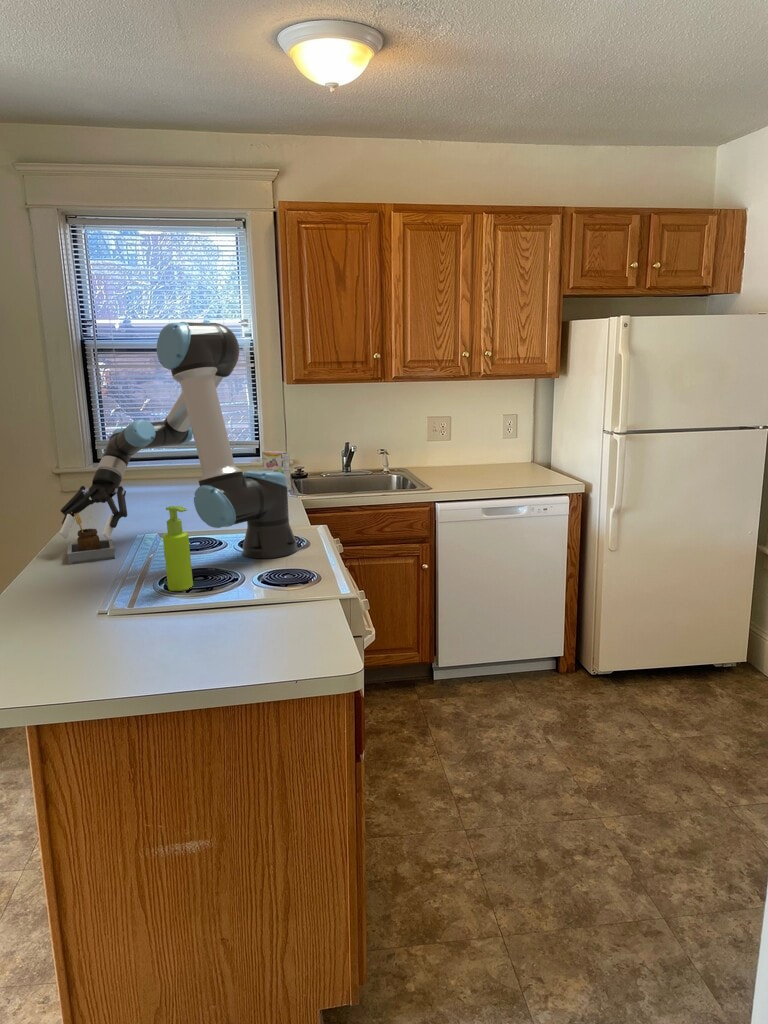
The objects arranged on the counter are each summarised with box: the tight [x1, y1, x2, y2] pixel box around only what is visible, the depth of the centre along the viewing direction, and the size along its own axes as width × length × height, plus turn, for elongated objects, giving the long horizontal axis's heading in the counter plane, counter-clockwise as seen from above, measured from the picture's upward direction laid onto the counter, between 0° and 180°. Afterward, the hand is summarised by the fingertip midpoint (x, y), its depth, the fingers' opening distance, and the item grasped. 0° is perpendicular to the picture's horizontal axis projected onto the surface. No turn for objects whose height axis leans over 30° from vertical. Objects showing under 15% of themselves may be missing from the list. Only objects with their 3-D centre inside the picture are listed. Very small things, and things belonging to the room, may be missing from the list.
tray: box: [66, 538, 116, 565], centre depth 202 cm, size 12×12×3 cm
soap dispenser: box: [162, 505, 194, 592], centre depth 169 cm, size 6×7×20 cm
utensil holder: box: [74, 512, 101, 552], centre depth 201 cm, size 6×6×12 cm
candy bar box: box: [261, 450, 292, 492], centre depth 295 cm, size 11×5×16 cm, turn 58°
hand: (84, 536), depth 199 cm, fingers open, 13 cm apart
